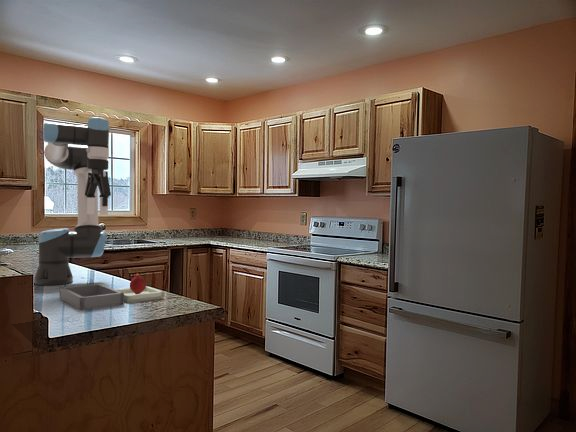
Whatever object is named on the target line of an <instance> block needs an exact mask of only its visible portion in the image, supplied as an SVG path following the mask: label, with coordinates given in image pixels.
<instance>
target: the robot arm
mask: <svg viewBox="0 0 576 432" xmlns="http://www.w3.org/2000/svg"><path fill="white" fill-rule="evenodd" d="M42 127H43V128H42V129H43V130H42V131H43V133H42V134H43V135H42V137H43V138H42V139H43V141H44V143H47V145H46V146H45V148H44V151H43V152H44V157H45V159H46V160H47V162H49V164H51V165H53V166H54V167H57V168H60V169H63V170H69V171H70V170H72V171H73V174H74V176H76V179H77V180H76V181H77V185H76V187H77V190H76V191H77V225H76V226H74V228H73V229H74V230H73V231H71V230H70V228H69V227H68V228H67V227H64V228H54V229H47V230H43V231H41V232H40V233H39V235H38V265H37V266H38V267H37V268H36V271H35V273H34V277H33V284H34V283H35V284H34V285H38V286H56V285H57V286H59V285H64V284H65V285H66V284H70V283H72V282H73V281H74V280H73V279H74V276H73V273H72V271H71V267H70V265H69V264H70V261H69V258H71V259H72V258H74V259H76V258H97V257H99V258H100V257H101V256H102V255H103V254H104V251H105V247H106V242H107V241H106V239H107V232H106V231H105V230H103V226H101V225H100V224H99V216H108V215H109V198H110V196H112V193H111V188H110V180H109V172H108V170H109V160H108V159H109V158H110V157H109V156H110V151H109V150H110V147H109V146H110V145H109V141H110V122H109V120H108V119H107V118H103V117H96V116H95V117H88V120H87V126H85V125H77V124H76V125H73V124H65V123H58V122H44V124H43V126H42ZM98 191H99V193H98ZM98 194H99V195H98ZM98 196H99V197H98ZM98 198H99V200H98Z"/></svg>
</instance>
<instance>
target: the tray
mask: <svg viewBox="0 0 576 432" xmlns="http://www.w3.org/2000/svg"><path fill="white" fill-rule="evenodd" d="M116 290H117V291H120V292H123V293H124V303H126V304H130V303H138V302H139V303H140V302H146V301H147V302H148V301H153V300H154V301H155V300H162V299H164V297H165V295H164V294H165V292H164V291H162V290H160V289H156V288H154V287H150V286H147V285H146V288H145V290H144V291H143V292H141V293H140V294H135V293H134V292H133V291H132V290H131V289H130V287H129V288H118V289H116Z"/></svg>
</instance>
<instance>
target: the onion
mask: <svg viewBox="0 0 576 432" xmlns="http://www.w3.org/2000/svg"><path fill="white" fill-rule="evenodd" d="M146 286H147V283H146V280H145V279H144V277H142V276H141V274H139V273H136V275H135V276H134V277H133V278H132V279H131V281H130V283H129V288H130V289H131V290H132V291H133V292H134V293H135V294H140V293H141V292H143V291H144V290H145V288H146Z"/></svg>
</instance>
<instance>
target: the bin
mask: <svg viewBox="0 0 576 432" xmlns="http://www.w3.org/2000/svg"><path fill="white" fill-rule="evenodd" d="M59 299H60V300H61V301H64V302H66V303H67V304H68V305H70V306H72V307H74V308H75V309H78V310H79V311H85V310H92V309H100V308H107V307H114V306H121V304H123V305H124V304H125V302H124V293H123V292H120V291H117V289H115V288H112V287H110V286H107V285H105V284H101V283H92V284H84V285H74V286H63V287H59Z"/></svg>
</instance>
